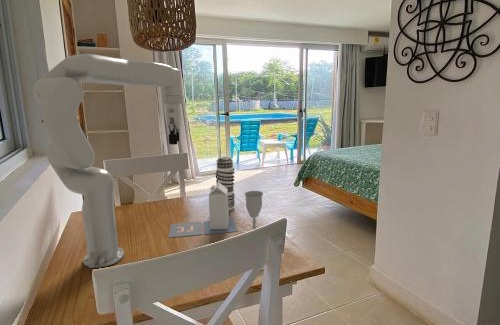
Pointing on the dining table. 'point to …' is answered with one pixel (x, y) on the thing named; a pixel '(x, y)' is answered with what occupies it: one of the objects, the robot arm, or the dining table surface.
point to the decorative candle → (226, 177)
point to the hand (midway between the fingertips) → (174, 142)
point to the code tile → (185, 229)
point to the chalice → (254, 204)
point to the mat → (214, 231)
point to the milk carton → (218, 207)
